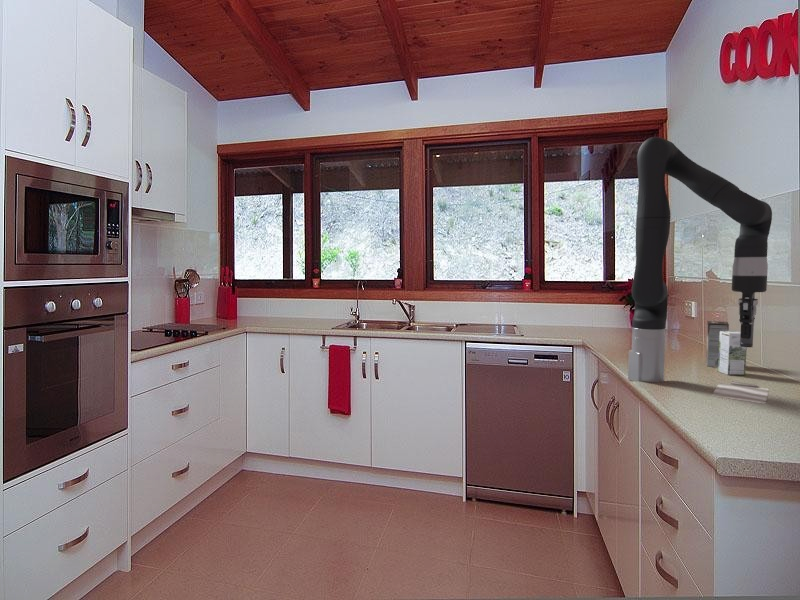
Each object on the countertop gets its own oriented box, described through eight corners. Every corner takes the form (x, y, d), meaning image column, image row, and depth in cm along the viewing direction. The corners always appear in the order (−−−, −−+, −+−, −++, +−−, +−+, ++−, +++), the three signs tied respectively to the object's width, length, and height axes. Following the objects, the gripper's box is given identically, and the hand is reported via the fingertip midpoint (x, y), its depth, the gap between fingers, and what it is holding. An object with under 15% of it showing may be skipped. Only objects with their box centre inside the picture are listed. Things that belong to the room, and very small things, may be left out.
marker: (744, 347, 122) (747, 303, 121) (736, 345, 125) (738, 302, 124) (755, 347, 122) (758, 303, 121) (747, 345, 125) (749, 302, 124)
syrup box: (734, 371, 157) (736, 330, 156) (746, 375, 151) (747, 332, 150) (717, 371, 158) (718, 330, 157) (727, 375, 152) (729, 332, 151)
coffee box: (705, 362, 174) (707, 320, 173) (725, 363, 171) (727, 321, 170) (706, 366, 166) (708, 323, 165) (728, 368, 163) (729, 324, 162)
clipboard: (771, 409, 114) (771, 403, 114) (705, 399, 123) (705, 394, 123) (774, 391, 131) (774, 386, 131) (715, 384, 140) (715, 379, 140)
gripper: (765, 274, 114) (761, 342, 116) (769, 274, 125) (765, 336, 126) (729, 274, 119) (725, 339, 121) (735, 274, 130) (732, 333, 131)
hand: (746, 337), depth 123 cm, fingers closed on marker, 2 cm apart
